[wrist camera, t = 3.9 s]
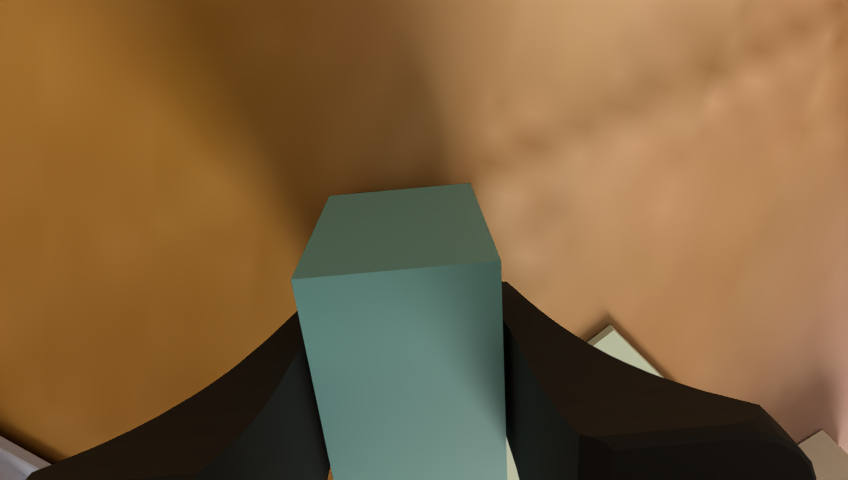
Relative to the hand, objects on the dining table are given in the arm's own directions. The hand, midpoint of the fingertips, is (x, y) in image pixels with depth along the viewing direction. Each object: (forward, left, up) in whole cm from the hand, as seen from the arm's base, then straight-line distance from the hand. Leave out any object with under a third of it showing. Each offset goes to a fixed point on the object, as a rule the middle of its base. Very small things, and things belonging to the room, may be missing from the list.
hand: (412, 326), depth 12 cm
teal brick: (0, 0, -2) cm, 2 cm away
